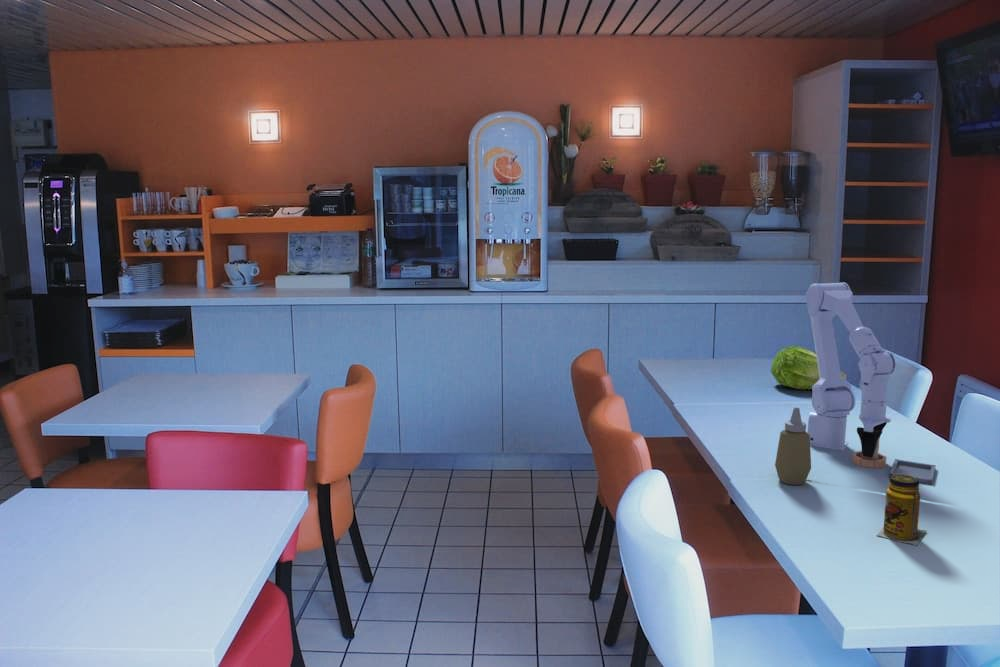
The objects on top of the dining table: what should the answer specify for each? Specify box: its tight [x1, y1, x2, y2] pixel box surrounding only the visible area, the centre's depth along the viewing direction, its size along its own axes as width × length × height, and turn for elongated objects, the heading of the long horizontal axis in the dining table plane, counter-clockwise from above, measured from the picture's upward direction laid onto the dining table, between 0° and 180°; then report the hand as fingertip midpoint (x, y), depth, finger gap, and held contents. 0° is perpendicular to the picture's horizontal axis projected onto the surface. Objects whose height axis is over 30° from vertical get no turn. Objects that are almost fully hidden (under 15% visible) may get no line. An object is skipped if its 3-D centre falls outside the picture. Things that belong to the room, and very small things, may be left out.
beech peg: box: [861, 436, 881, 460], centre depth 199 cm, size 4×4×8 cm
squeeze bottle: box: [774, 407, 812, 486], centre depth 187 cm, size 8×8×18 cm
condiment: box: [876, 475, 928, 546], centre depth 158 cm, size 7×8×12 cm
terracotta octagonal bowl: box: [851, 450, 887, 469], centre depth 200 cm, size 8×8×2 cm
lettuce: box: [770, 345, 847, 391], centre depth 276 cm, size 15×24×16 cm
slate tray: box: [888, 458, 937, 486], centre depth 192 cm, size 9×12×2 cm
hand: (869, 452), depth 199 cm, fingers open, 7 cm apart
